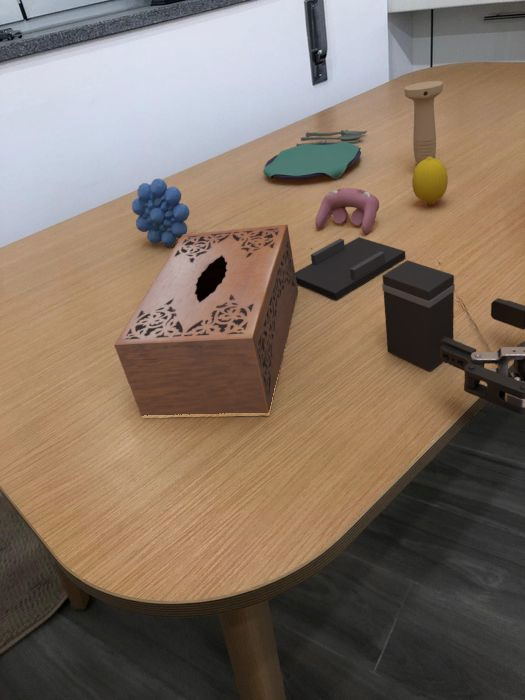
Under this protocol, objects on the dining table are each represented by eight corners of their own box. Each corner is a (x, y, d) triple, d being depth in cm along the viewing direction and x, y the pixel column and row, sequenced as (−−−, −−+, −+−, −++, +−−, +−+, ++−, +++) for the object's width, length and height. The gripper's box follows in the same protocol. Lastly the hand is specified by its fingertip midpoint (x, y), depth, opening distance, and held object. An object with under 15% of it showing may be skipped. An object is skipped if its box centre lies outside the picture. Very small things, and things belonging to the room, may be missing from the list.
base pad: (359, 243, 92) (358, 227, 90) (405, 258, 86) (405, 241, 84) (291, 282, 86) (288, 265, 84) (336, 300, 79) (333, 283, 78)
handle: (406, 168, 115) (402, 85, 106) (440, 163, 114) (440, 79, 105) (409, 177, 111) (406, 91, 102) (445, 172, 110) (445, 85, 101)
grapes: (210, 236, 104) (194, 169, 97) (189, 254, 99) (171, 185, 93) (157, 233, 109) (138, 169, 103) (135, 250, 105) (114, 184, 98)
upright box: (410, 335, 70) (407, 259, 65) (454, 354, 66) (455, 274, 60) (386, 352, 68) (381, 275, 63) (430, 372, 64) (428, 292, 59)
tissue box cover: (199, 297, 87) (182, 234, 81) (298, 291, 83) (287, 224, 78) (142, 418, 66) (114, 345, 61) (269, 416, 63) (252, 338, 57)
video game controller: (378, 235, 97) (384, 190, 95) (367, 234, 93) (372, 188, 91) (325, 230, 102) (329, 187, 100) (311, 229, 98) (316, 184, 97)
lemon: (415, 198, 102) (414, 152, 98) (449, 197, 100) (449, 149, 96) (410, 212, 98) (409, 164, 94) (446, 211, 96) (446, 161, 92)
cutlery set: (251, 187, 121) (248, 176, 119) (300, 138, 142) (298, 129, 141) (346, 185, 113) (345, 173, 111) (383, 134, 134) (382, 123, 133)
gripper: (690, 314, 49) (511, 263, 61) (601, 402, 43) (420, 327, 54) (671, 384, 54) (506, 325, 65) (587, 474, 47) (421, 391, 59)
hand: (467, 326), depth 60 cm, fingers open, 8 cm apart
